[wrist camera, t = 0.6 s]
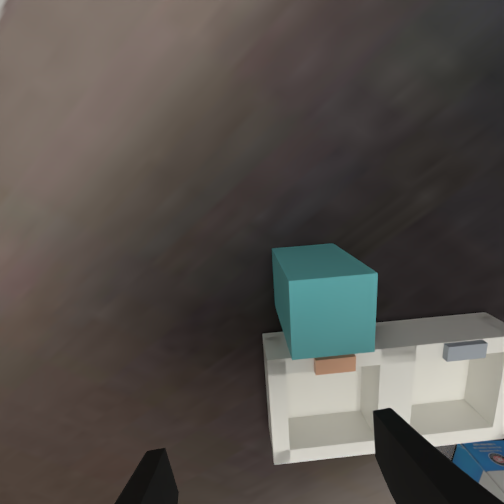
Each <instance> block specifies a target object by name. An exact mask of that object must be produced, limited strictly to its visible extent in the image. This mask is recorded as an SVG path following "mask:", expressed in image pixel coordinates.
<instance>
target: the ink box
mask: <svg viewBox="0 0 504 504" xmlns="http://www.w3.org/2000/svg"><path fill="white" fill-rule="evenodd" d="M452 462H453V463H454V464H456V465H457V466H458V467H459V468H460V469H462V470H463V471H464V472H465V473H466V474H468V475H469V476H470V477H471V478H473V479H474V480H475V481H476V482H478V483H479V484H480V485H482V486H483V487H484V488H485V489H487V490H488V491H489V492H491V493H492V494H493V495H495V496H496V497H497V498H498V499H500V500H501V501H502V502H504V440H496V441H492V440H490V441H479V442H470V443H461V444H457V448H456V451H455V454H454V458H453V461H452Z"/></svg>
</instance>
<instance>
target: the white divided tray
mask: <svg viewBox="0 0 504 504" xmlns="http://www.w3.org/2000/svg"><path fill="white" fill-rule="evenodd" d="M262 337H263V351H264V366H265V380H266V394H267V408H268V422H269V431H270V439H271V446H272V453H273V461H274V465H278V464H286V463H295V462H304V461H313V460H321V459H330V458H339V457H348V456H356V455H365V454H374V453H375V441H374V423H373V411H374V410H380V409H386V408H391V409H393V410H394V411H395V412H396V413H397V414H398V415H399V416H401V417H402V418H403V419H404V420H405V421H406V422H407V423H408V424H409V425H410V426H412V427H413V428H414V429H415V430H416V431H417V432H418V433H419V434H420V435H422V436H423V437H424V438H425V439H426V440H427V441H428V442H430V443H431V444H432V445H433V446H434V447H435V446H444V445H453V444H461V443H470V442H479V441H488V440H496V439H504V322H502V321H501V320H499V319H497V318H495V317H493V316H491V315H489V314H487V313H486V312H481V313H470V314H460V315H449V316H439V317H429V318H418V319H408V320H398V321H387V322H377V323H376V329H375V352H368V353H358V354H348V355H338V356H328V357H318V358H308V359H298V360H292V358H291V355H290V352H289V349H288V346H287V342H286V339H285V336H284V333H283V332H273V333H263V334H262Z"/></svg>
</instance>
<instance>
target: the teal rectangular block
mask: <svg viewBox="0 0 504 504" xmlns="http://www.w3.org/2000/svg"><path fill="white" fill-rule="evenodd" d="M272 263H273V280H274V298H275V307H276V310H277V314H278V317H279V320H280V323H281V326H282V330H283V333H284V336H285V339H286V342H287V346H288V349H289V352H290V355H291V358H292V360H298V359H308V358H318V357H328V356H338V355H348V354H358V353H368V352H375V329H376V306H377V283H378V273H377V272H375V271H374V270H372V269H371V268H369V267H368V266H366V265H365V264H363V263H362V262H360V261H359V260H357V259H356V258H354V257H353V256H351V255H350V254H348V253H347V252H345V251H344V250H342V249H341V248H339V247H338V246H336V245H335V244H333V243H330V244H318V245H307V246H295V247H283V248H272Z"/></svg>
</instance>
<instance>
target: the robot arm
mask: <svg viewBox="0 0 504 504" xmlns="http://www.w3.org/2000/svg"><path fill="white" fill-rule="evenodd" d="M373 423H374V441H375V457H376V459H377V462H378V464H379V467H380V469H381V471H382V474H383V476H384V479H385V481H386V483H387V485H388V488H389V490H390V492H391V494H392V496H393V498H394V500H395V502H396V504H504V502H502V501H501V500H500V499H498V498H497V497H496V496H495V495H493V494H492V493H491V492H489V491H488V490H487V489H485V488H484V487H483V486H482V485H480V484H479V483H478V482H476V481H475V480H474V479H473V478H471V477H470V476H469V475H468V474H466V473H465V472H464V471H463V470H462V469H460V468H459V467H458V466H457V465H456V464H454V463H453V462H452V461H451V460H450V459H448V458H447V457H446V456H445V455H444V454H442V453H441V452H440V451H439V450H438V449H436V448H435V447H434V446H433V445H432V444H431V443H430V442H428V441H427V440H426V439H425V438H424V437H423V436H422V435H420V434H419V433H418V432H417V431H416V430H415V429H414V428H413V427H412V426H410V425H409V424H408V423H407V422H406V421H405V420H404V419H403V418H402V417H401V416H399V415H398V414H397V413H396V412H395V411H394V410H393V409H391V408H386V409H380V410H374V411H373ZM177 503H178V489H177V486H176V483H175V479H174V476H173V473H172V469H171V466H170V463H169V459H168V456H167V453H166V449H165V448H162V449H156V450H151V451H147V452H146V453H145V455H144V457H143V458H142V460H141V461H140V463H139V465H138V466H137V468H136V470H135V471H134V473H133V475H132V476H131V478H130V480H129V481H128V483H127V484H126V486H125V488H124V489H123V491H122V493H121V494H120V496H119V497H118V499H117V501H116V502H115V504H177Z"/></svg>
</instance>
